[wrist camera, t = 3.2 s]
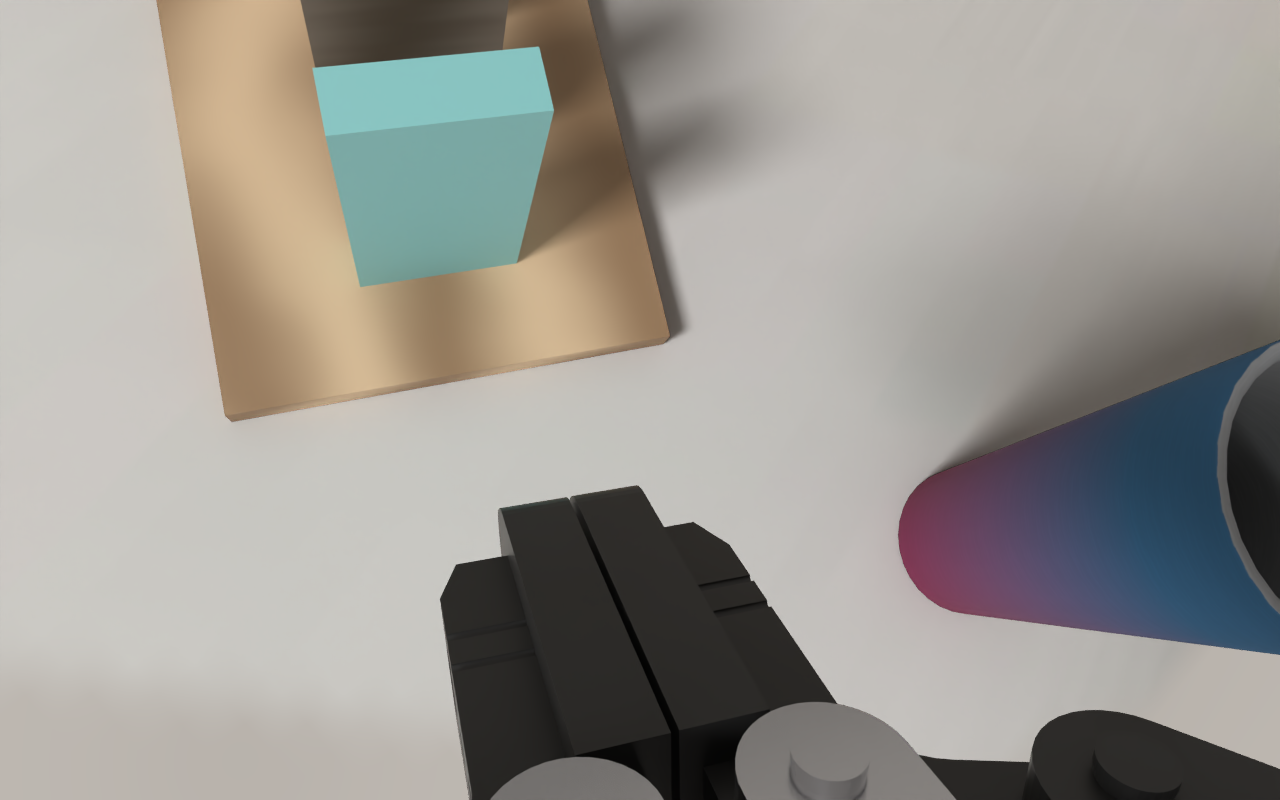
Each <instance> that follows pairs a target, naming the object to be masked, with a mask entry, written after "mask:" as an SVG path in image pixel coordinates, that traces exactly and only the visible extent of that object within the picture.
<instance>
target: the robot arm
mask: <svg viewBox="0 0 1280 800" xmlns="http://www.w3.org/2000/svg"><path fill="white" fill-rule="evenodd" d="M498 522H499V534H500V544H501V554H502V557H496V558H491V559H485V560H480V561H474V562H468V563H463V564H457V565H456V566H455V568H454V570H453V572H452V575H451V577H450V579H449V581H448V583H447V585H446V587H445V589H444V591H443V594H442V596H441V598H440V602H441V609H442V617H443V624H444V631H445V639H446V646H447V653H448V661H449V668H450V675H451V683H452V690H453V697H454V705H455V712H456V719H457V725H458V732H459V738H460V744H461V750H462V756H463V763H464V769H465V775H466V782H467V788H468V794H469V800H1280V769H1278V768H1276V767H1273V766H1270V765H1267V764H1265V763H1262V762H1259V761H1257V760H1254V759H1251V758H1249V757H1246V756H1243V755H1241V754H1238V753H1235V752H1233V751H1230V750H1227V749H1225V748H1222V747H1219V746H1217V745H1214V744H1211V743H1209V742H1206V741H1203V740H1200V739H1198V738H1195V737H1193V736H1190V735H1187V734H1184V733H1182V732H1179V731H1176V730H1174V729H1171V728H1169V727H1166V726H1163V725H1161V724H1158V723H1155V722H1152V721H1150V720H1146V719H1143V718H1140V717H1137V716H1134V715H1129V714H1125V713H1120V712H1113V711H1104V710H1085V711H1078V712H1072V713H1068V714H1065V715H1062V716H1059V717H1057V718H1055V719H1054V720H1052V721H1050V722H1048V723H1047V724H1046V725H1045V726H1044V727H1043V728H1042V729H1041V730H1040V731H1039V733H1038V735H1037V736H1036V738H1035V741H1034V744H1033V748H1032V752H1031V757H1030V762H1006V761H976V760H950V759H939V758H932V757H927V756H922V755H918V754H917V753H916V752H915V750H914V749H913V748H912V747H911V746H910V745H909V743H908V742H907V741H906V740H905V739H904V738H903V737H902V736H901V735H900V734H899V733H898V732H897V731H895V730H894V729H893V728H892V727H890V726H889V725H888V724H886V723H885V722H883V721H881V720H880V719H878V718H876V717H874V716H873V715H870V714H868V713H866V712H863V711H861V710H858V709H855V708H852V707H848V706H845V705H840V704H837V703H836V701H835V700H834V698H833V697H832V695H831V694H830V692H829V691H828V689H827V688H826V686H825V685H824V683H823V682H822V681H821V679H820V678H819V676H818V675H817V673H816V672H815V670H814V669H813V667H812V666H811V664H810V663H809V661H808V660H807V658H806V657H805V656H804V654H803V653H802V651H801V650H800V648H799V647H798V645H797V644H796V642H795V641H794V639H793V638H792V636H791V635H790V633H789V632H788V630H787V629H786V628H785V626H784V625H783V623H782V622H781V620H780V619H779V617H778V616H777V614H776V613H775V611H774V610H773V608H772V607H768V605H767V600H766V598H765V597H764V595H763V594H762V592H761V591H760V589H759V588H758V586H757V585H756V583H755V582H754V581H751V580H750V575H749V573H748V572H747V570H746V569H745V567H744V566H743V564H742V563H741V561H740V560H739V558H738V557H737V555H736V554H735V552H734V551H733V549H732V548H731V547H730V545H729V544H727V543H726V542H724V541H723V540H721V539H719V538H718V537H716V536H715V535H713V534H712V533H710V532H708V531H707V530H705V529H704V528H702V527H700V526H699V525H697V524H696V523H694V522H691V523H685V524H680V525H674V526H669V527H664V526H663V525H662V523H661V521H660V519H659V518H658V516H657V514H656V513H655V511H654V509H653V507H652V506H651V504H650V502H649V501H648V499H647V497H646V495H645V494H644V492H643V491H642V489H641V488H640V487H639V486H637V485H636V486H630V487H624V488H618V489H612V490H606V491H600V492H594V493H588V494H582V495H576V496H572V497H571V498H570V501H569V499H568V498H566V497H565V498H559V499H553V500H547V501H541V502H535V503H529V504H523V505H517V506H511V507H505V508H499V510H498Z"/></svg>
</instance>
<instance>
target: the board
mask: <svg viewBox="0 0 1280 800" xmlns="http://www.w3.org/2000/svg"><path fill="white" fill-rule="evenodd" d="M157 7H158V13H159V19H160V25H161V31H162V37H163V43H164V49H165V55H166V61H167V67H168V73H169V79H170V85H171V91H172V98H173V104H174V110H175V116H176V122H177V128H178V134H179V140H180V146H181V152H182V158H183V164H184V170H185V176H186V183H187V189H188V195H189V201H190V207H191V213H192V219H193V225H194V231H195V237H196V243H197V249H198V255H199V261H200V267H201V274H202V280H203V286H204V292H205V298H206V304H207V310H208V316H209V322H210V328H211V334H212V340H213V346H214V352H215V359H216V365H217V371H218V377H219V383H220V389H221V395H222V401H223V407H224V413H225V416H226V417H227V418H228V419H229V420H230V421H231V422H234V421H239V420H245V419H250V418H256V417H261V416H267V415H272V414H278V413H284V412H289V411H295V410H300V409H306V408H311V407H317V406H322V405H328V404H333V403H339V402H345V401H350V400H356V399H361V398H367V397H372V396H378V395H383V394H389V393H394V392H400V391H405V390H411V389H417V388H422V387H428V386H433V385H439V384H444V383H450V382H455V381H461V380H466V379H472V378H478V377H483V376H489V375H494V374H500V373H505V372H511V371H516V370H522V369H527V368H533V367H539V366H544V365H550V364H555V363H561V362H566V361H572V360H577V359H583V358H588V357H594V356H599V355H605V354H611V353H616V352H622V351H627V350H633V349H638V348H644V347H649V346H655V345H660V344H664V342H665V341H666V340H667V339H668V338H669V337H670V334H669V330H668V326H667V321H666V317H665V313H664V309H663V305H662V301H661V297H660V293H659V289H658V285H657V281H656V277H655V273H654V269H653V264H652V260H651V256H650V252H649V248H648V244H647V240H646V236H645V232H644V228H643V224H642V220H641V216H640V212H639V208H638V203H637V199H636V195H635V191H634V187H633V183H632V179H631V175H630V171H629V167H628V163H627V159H626V155H625V151H624V147H623V142H622V138H621V134H620V130H619V126H618V122H617V118H616V114H615V110H614V106H613V102H612V98H611V94H610V90H609V86H608V81H607V77H606V73H605V69H604V65H603V61H602V57H601V53H600V49H599V45H598V41H597V37H596V33H595V29H594V25H593V20H592V16H591V12H590V8H589V4H588V0H509V2H508V10H507V18H506V26H505V34H504V42H503V50H508V49H519V48H529V47H539V48H540V53H541V57H542V61H543V65H544V70H545V74H546V78H547V83H548V87H549V91H550V95H551V100H552V104H553V108H554V113H553V117H552V121H551V125H550V129H549V133H548V137H547V141H546V145H545V150H544V154H543V158H542V162H541V166H540V170H539V174H538V178H537V182H536V187H535V191H534V195H533V199H532V203H531V207H530V211H529V215H528V219H527V223H526V228H525V232H524V236H523V240H522V244H521V248H520V252H519V256H518V260H517V263H516V264H510V265H503V266H496V267H490V268H483V269H477V270H470V271H464V272H457V273H450V274H444V275H437V276H431V277H424V278H417V279H411V280H404V281H398V282H391V283H384V284H378V285H371V286H365V287H360V284H359V280H358V276H357V271H356V267H355V263H354V258H353V254H352V250H351V245H350V241H349V237H348V232H347V228H346V224H345V219H344V215H343V211H342V206H341V202H340V198H339V193H338V189H337V185H336V180H335V176H334V171H333V167H332V163H331V158H330V154H329V150H328V145H327V141H326V137H325V132H324V126H323V121H322V116H321V111H320V106H319V100H318V95H317V90H316V85H315V80H314V74H313V69H312V68H315V64H314V60H313V55H312V51H311V46H310V42H309V37H308V32H307V28H306V23H305V19H304V14H303V10H302V5H301V1H300V0H157Z"/></svg>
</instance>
